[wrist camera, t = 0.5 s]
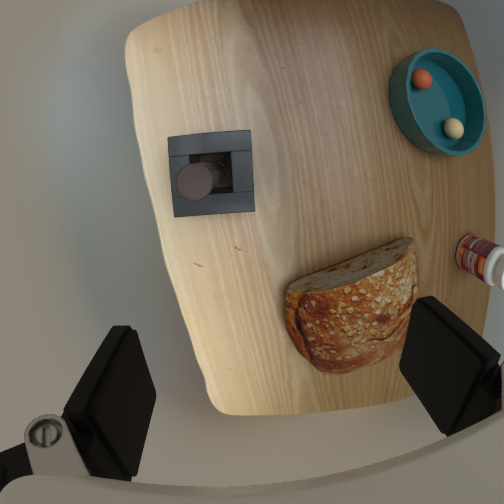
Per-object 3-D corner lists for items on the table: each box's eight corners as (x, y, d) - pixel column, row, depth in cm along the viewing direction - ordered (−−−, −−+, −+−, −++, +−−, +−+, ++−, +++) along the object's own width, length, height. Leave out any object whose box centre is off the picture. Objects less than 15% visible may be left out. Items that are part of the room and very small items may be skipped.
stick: (206, 162, 35) (173, 165, 16) (224, 161, 35) (212, 161, 16) (207, 180, 36) (176, 203, 17) (225, 179, 36) (215, 200, 17)
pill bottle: (451, 245, 40) (497, 269, 30) (474, 226, 40) (520, 245, 29) (458, 275, 42) (500, 302, 31) (481, 256, 41) (523, 278, 31)
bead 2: (439, 117, 34) (452, 115, 31) (454, 120, 34) (467, 119, 31) (440, 138, 35) (453, 137, 32) (455, 140, 35) (468, 140, 32)
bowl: (382, 48, 31) (399, 37, 26) (460, 69, 32) (479, 63, 27) (392, 150, 36) (411, 150, 31) (467, 158, 36) (488, 160, 31)
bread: (406, 231, 39) (447, 251, 30) (410, 333, 45) (439, 366, 35) (270, 269, 40) (282, 303, 30) (296, 371, 45) (308, 415, 36)
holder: (181, 141, 34) (167, 137, 27) (247, 136, 35) (250, 129, 27) (186, 205, 37) (174, 217, 29) (250, 200, 37) (255, 211, 29)
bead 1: (405, 69, 32) (416, 64, 29) (422, 73, 32) (435, 68, 29) (407, 89, 33) (419, 85, 29) (425, 93, 33) (438, 90, 30)
